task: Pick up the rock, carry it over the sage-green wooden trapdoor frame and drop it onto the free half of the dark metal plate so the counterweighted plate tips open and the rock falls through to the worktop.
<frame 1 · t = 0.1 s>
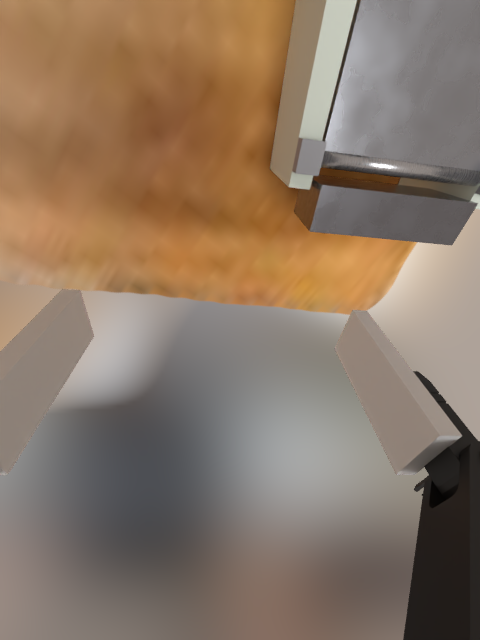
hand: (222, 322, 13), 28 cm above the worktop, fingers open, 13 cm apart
trapdoor: (418, 100, 22), point 10 cm above the worktop, hinge at 0.0°
frame: (374, 76, 28), on the worktop
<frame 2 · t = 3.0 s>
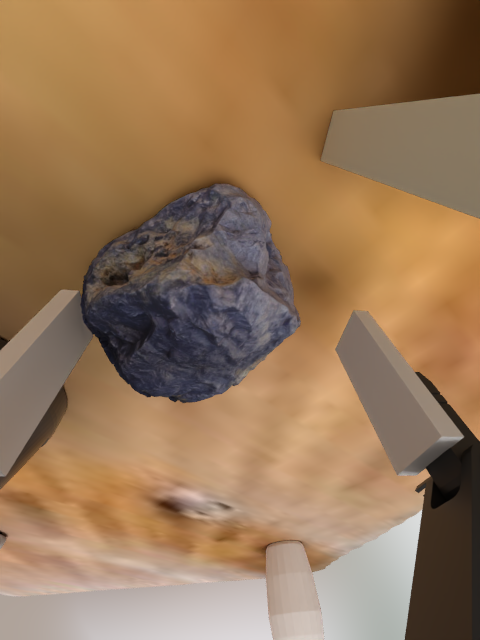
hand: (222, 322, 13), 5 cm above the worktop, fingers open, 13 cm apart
rock: (215, 273, 17), on the worktop, touching gripper
bottle: (284, 544, 63), on the worktop
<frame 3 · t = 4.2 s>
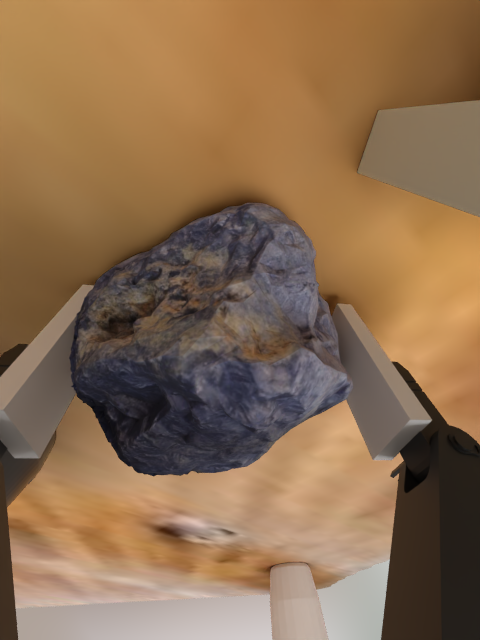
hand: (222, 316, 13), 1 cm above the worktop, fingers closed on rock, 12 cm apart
rock: (234, 302, 14), on the worktop, touching gripper
bottle: (289, 565, 60), on the worktop
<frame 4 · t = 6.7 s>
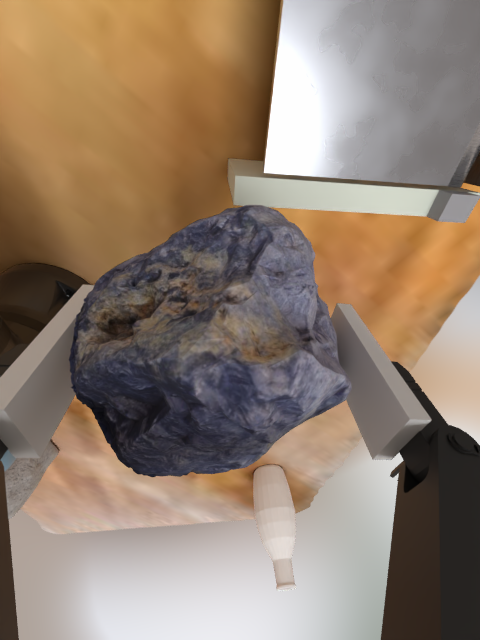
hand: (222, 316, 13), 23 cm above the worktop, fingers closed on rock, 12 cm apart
rock: (233, 303, 14), point 22 cm above the worktop, touching gripper
trapdoor: (434, 45, 17), point 11 cm above the worktop, hinge at 0.0°
decorative stone: (42, 440, 60), on the worktop
frame: (334, 69, 25), on the worktop
bottle: (268, 469, 79), on the worktop
when the fingers open (16 cm above the worktop, at t = 9.2 s): rock drops 11 cm, resting on trapdoor.
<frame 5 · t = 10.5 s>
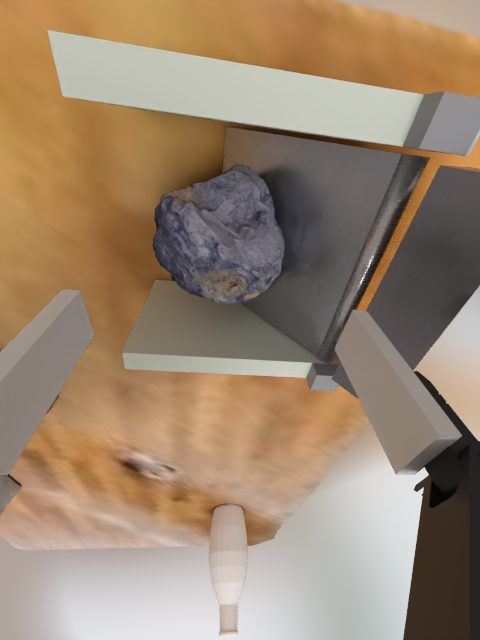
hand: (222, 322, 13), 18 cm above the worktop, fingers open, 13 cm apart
rock: (252, 235, 24), point 4 cm above the worktop, touching trapdoor
trapdoor: (314, 253, 22), point 7 cm above the worktop, hinge at -49.5°, touching rock
decorative stone: (4, 477, 62), on the worktop
frame: (245, 220, 27), on the worktop
bottle: (228, 507, 81), on the worktop
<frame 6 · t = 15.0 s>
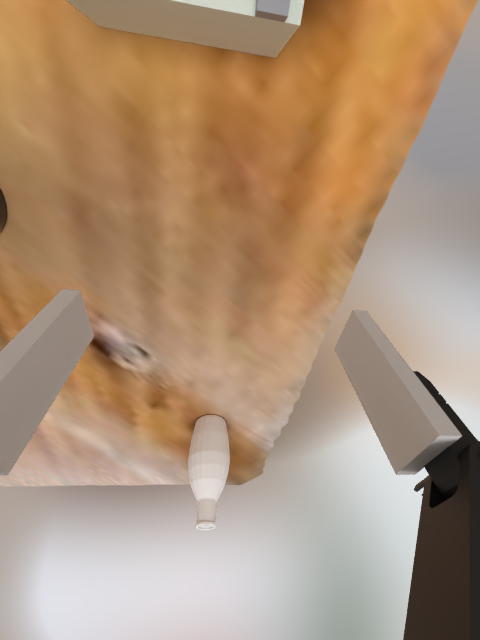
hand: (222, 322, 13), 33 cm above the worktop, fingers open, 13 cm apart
bottle: (210, 421, 77), on the worktop
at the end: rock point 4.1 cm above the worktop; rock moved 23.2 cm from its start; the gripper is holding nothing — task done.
